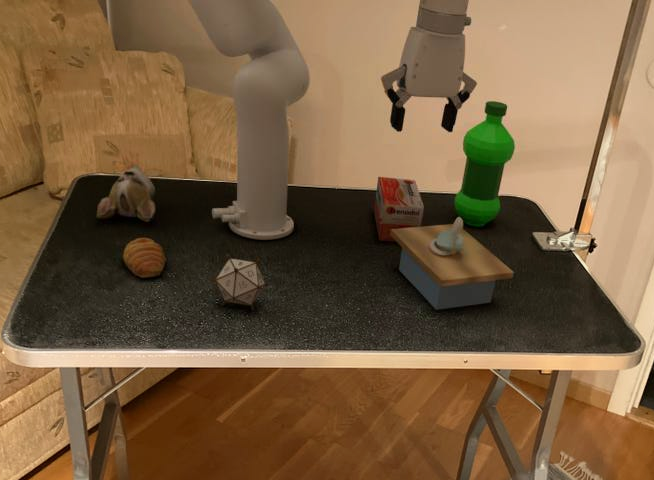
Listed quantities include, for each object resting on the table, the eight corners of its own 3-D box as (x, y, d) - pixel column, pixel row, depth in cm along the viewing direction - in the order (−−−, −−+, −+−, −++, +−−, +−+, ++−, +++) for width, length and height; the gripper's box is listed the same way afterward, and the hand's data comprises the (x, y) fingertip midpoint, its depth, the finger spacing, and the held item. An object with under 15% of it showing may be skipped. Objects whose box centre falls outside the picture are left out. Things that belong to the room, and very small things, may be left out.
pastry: (172, 278, 126) (171, 258, 124) (130, 283, 123) (128, 262, 121) (160, 254, 133) (159, 234, 131) (121, 257, 130) (119, 237, 128)
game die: (228, 320, 124) (202, 264, 123) (275, 299, 126) (250, 244, 124) (229, 322, 116) (201, 262, 114) (280, 300, 117) (253, 240, 115)
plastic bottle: (506, 229, 160) (532, 112, 146) (463, 232, 156) (485, 112, 143) (483, 210, 168) (506, 97, 154) (442, 213, 164) (461, 96, 150)
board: (440, 286, 122) (442, 280, 121) (389, 235, 137) (390, 229, 136) (512, 278, 128) (513, 272, 127) (456, 229, 142) (457, 223, 142)
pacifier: (429, 258, 128) (464, 260, 128) (434, 224, 125) (470, 226, 125) (428, 240, 134) (461, 242, 134) (432, 207, 131) (466, 209, 131)
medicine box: (419, 244, 149) (425, 207, 144) (379, 242, 148) (383, 204, 143) (410, 214, 161) (415, 178, 157) (372, 211, 160) (376, 175, 156)
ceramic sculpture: (163, 159, 147) (149, 192, 135) (166, 199, 152) (153, 234, 140) (107, 154, 146) (88, 187, 134) (112, 195, 151) (94, 231, 139)
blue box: (436, 309, 128) (441, 278, 124) (398, 269, 139) (402, 240, 135) (490, 302, 132) (497, 272, 129) (450, 264, 143) (455, 235, 140)
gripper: (475, 20, 124) (455, 122, 134) (381, 13, 118) (367, 121, 127) (498, 31, 119) (475, 137, 129) (400, 24, 112) (384, 136, 122)
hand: (421, 129), depth 128 cm, fingers open, 9 cm apart
